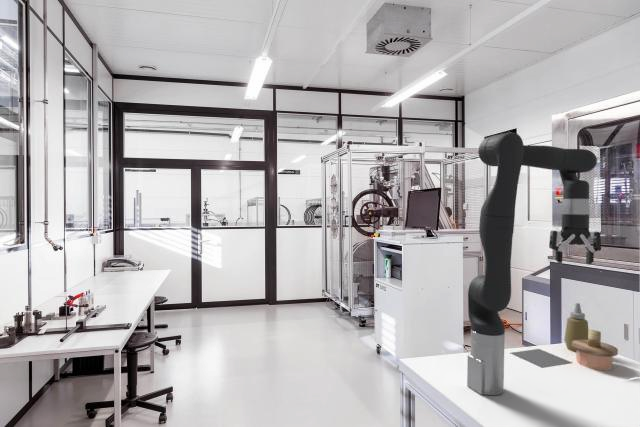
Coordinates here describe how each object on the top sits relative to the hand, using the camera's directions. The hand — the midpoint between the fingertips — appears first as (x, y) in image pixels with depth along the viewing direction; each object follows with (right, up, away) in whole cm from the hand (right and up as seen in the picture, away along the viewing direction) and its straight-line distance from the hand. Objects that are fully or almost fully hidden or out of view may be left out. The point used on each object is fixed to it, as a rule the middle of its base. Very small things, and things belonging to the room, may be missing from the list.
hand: (574, 263), depth 129 cm
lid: (+12, -31, +8) cm, 34 cm away
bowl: (+12, -36, +8) cm, 39 cm away
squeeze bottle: (+15, -36, +22) cm, 44 cm away
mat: (-4, -36, +13) cm, 38 cm away
